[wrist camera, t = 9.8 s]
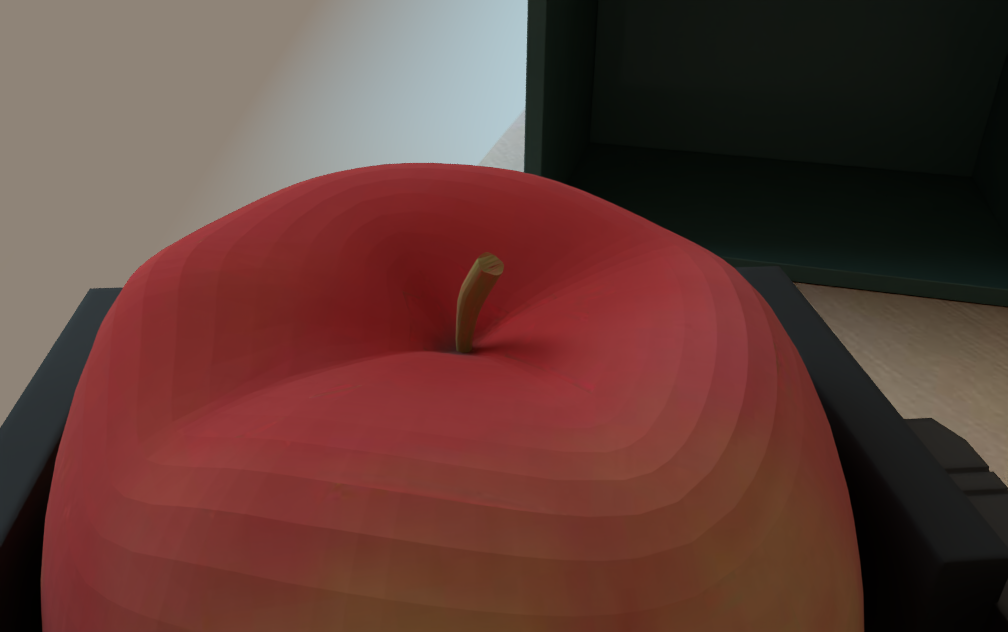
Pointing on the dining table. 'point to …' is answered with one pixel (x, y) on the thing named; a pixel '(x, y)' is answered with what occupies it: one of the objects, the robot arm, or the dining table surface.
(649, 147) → the cupboard
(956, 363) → the dining table surface
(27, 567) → the robot arm
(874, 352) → the dining table surface
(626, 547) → the apple
